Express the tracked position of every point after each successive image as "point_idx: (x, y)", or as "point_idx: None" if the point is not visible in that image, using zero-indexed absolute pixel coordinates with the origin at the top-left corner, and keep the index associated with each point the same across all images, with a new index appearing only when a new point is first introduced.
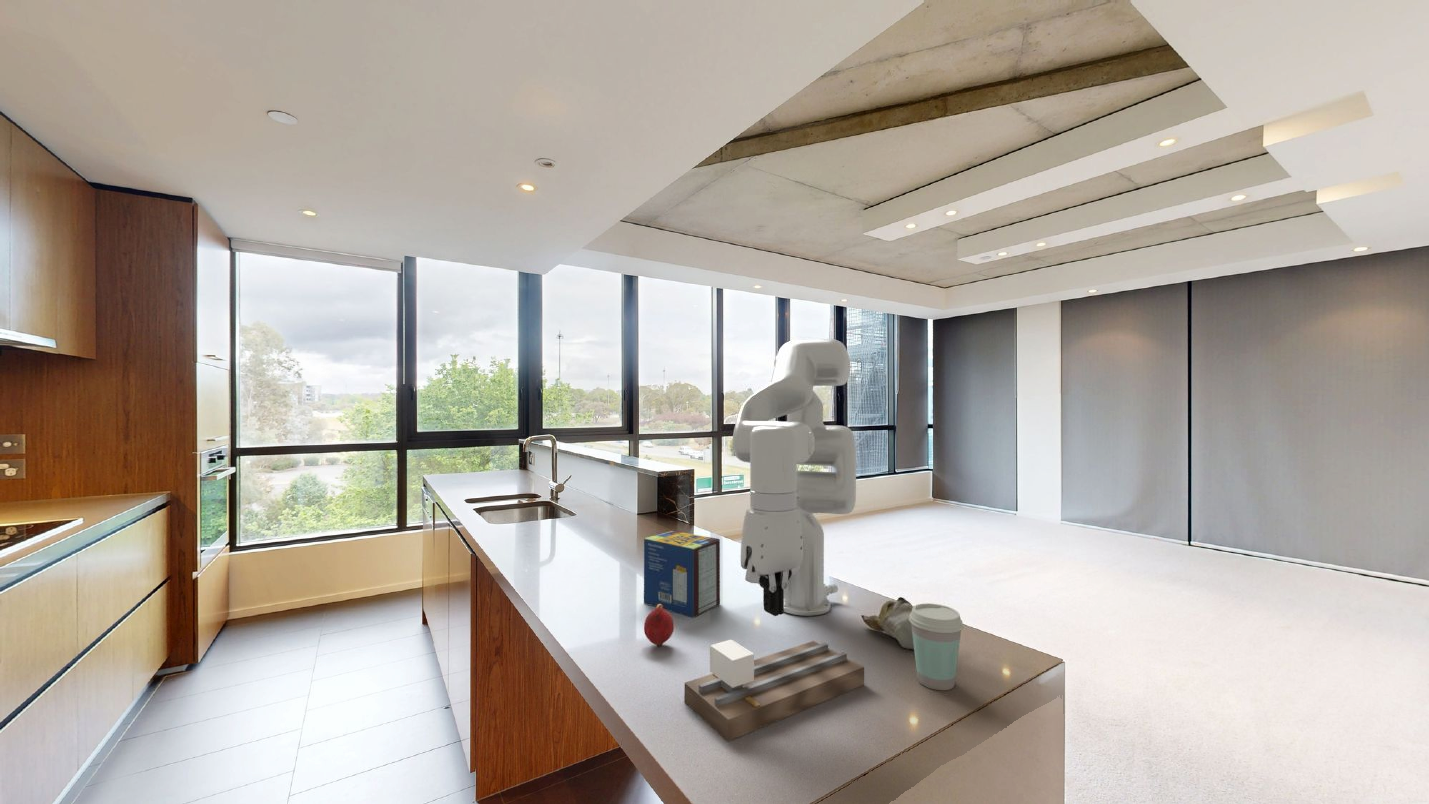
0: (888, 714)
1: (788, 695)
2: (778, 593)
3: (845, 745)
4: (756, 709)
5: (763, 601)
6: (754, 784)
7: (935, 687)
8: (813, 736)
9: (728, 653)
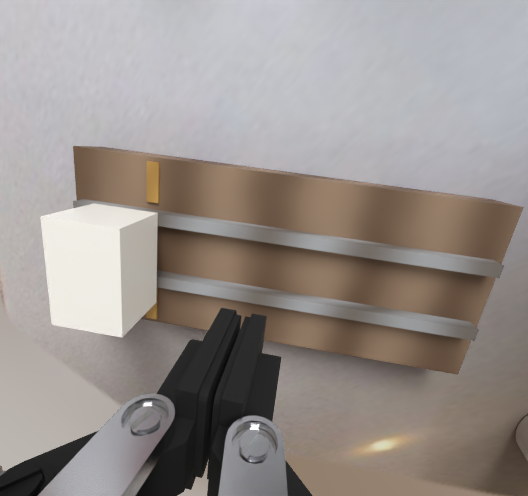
0: (369, 415)
1: None
2: (195, 476)
3: None
4: (146, 318)
5: (181, 354)
6: (89, 369)
7: (518, 445)
8: None
9: (63, 290)
